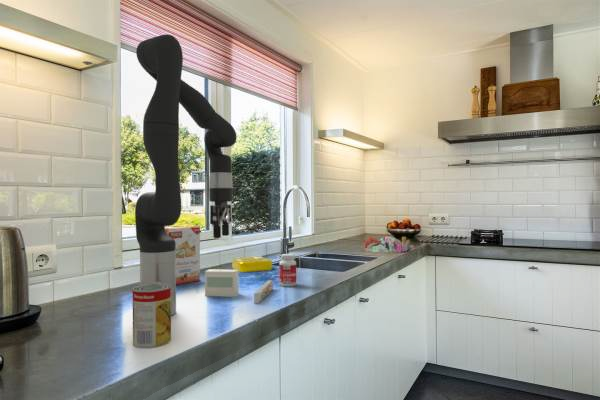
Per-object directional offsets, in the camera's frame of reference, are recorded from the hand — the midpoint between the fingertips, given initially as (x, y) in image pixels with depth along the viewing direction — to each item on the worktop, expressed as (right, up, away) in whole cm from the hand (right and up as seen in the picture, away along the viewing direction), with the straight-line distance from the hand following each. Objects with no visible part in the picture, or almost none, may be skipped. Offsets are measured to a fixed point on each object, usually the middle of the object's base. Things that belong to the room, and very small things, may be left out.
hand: (221, 236), depth 135 cm
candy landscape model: (+78, -19, +111) cm, 137 cm away
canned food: (-7, -19, -44) cm, 49 cm away
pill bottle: (+21, -19, +14) cm, 32 cm away
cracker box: (-19, -19, +21) cm, 34 cm away
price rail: (+14, -19, -2) cm, 24 cm away
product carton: (0, -19, 0) cm, 19 cm away
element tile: (+4, -19, +51) cm, 55 cm away
